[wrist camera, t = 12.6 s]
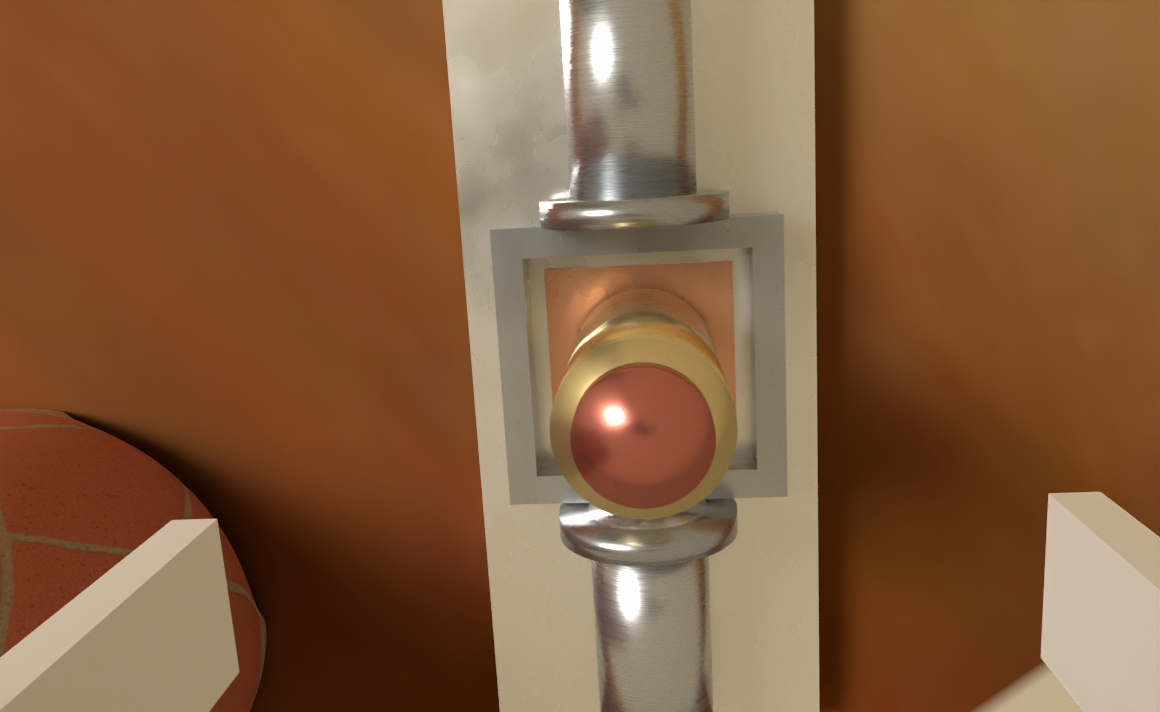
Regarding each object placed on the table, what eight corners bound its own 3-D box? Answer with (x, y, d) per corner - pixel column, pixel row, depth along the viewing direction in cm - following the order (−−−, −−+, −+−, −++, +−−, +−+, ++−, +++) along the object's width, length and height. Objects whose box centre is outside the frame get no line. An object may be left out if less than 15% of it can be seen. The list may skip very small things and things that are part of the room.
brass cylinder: (570, 292, 33) (540, 349, 24) (711, 285, 33) (738, 340, 23) (578, 426, 34) (552, 534, 25) (715, 421, 34) (742, 528, 24)
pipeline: (447, -49, 33) (398, -97, 27) (805, -77, 32) (844, -133, 26) (505, 699, 38) (477, 807, 32) (812, 695, 38) (845, 805, 31)
